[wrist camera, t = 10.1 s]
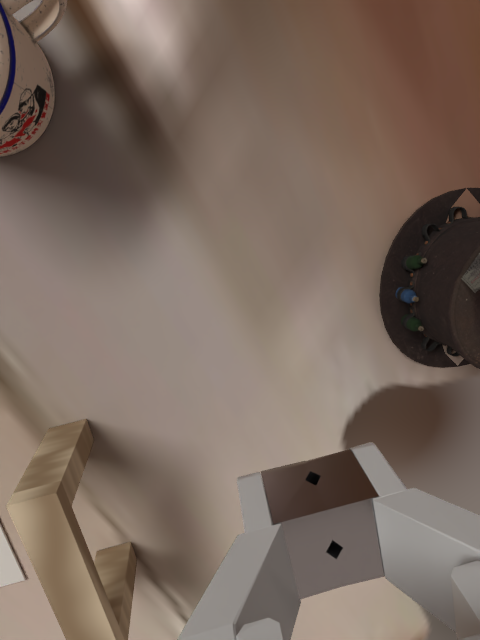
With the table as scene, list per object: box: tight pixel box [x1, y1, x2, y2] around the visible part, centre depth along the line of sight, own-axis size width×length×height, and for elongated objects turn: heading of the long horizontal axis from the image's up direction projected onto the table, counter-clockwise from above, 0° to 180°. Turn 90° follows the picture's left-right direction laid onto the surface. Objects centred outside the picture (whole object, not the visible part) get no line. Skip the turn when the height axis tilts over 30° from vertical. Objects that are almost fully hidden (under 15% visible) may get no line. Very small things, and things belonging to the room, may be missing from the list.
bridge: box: [6, 419, 137, 640], centre depth 33 cm, size 3×14×9 cm, turn 12°
